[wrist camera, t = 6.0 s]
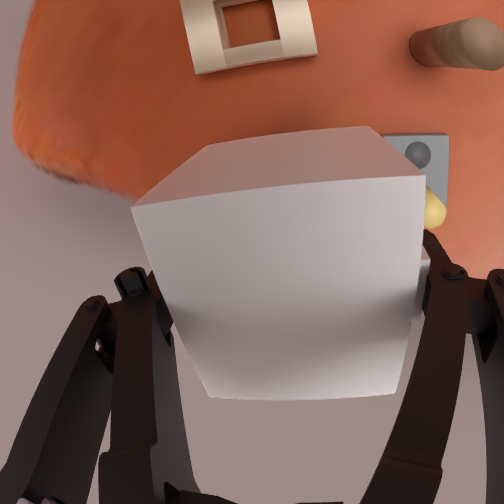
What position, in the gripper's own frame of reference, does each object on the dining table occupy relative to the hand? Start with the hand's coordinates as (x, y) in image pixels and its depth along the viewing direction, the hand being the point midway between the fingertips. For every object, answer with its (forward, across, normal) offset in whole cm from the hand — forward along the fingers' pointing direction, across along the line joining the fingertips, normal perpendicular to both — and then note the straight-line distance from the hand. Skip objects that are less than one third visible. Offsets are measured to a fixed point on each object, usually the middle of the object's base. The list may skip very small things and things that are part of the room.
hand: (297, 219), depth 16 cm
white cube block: (+1, 0, 0) cm, 1 cm away
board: (+12, +10, -2) cm, 16 cm away
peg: (+12, +12, +9) cm, 19 cm away
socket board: (+12, -2, +15) cm, 19 cm away
